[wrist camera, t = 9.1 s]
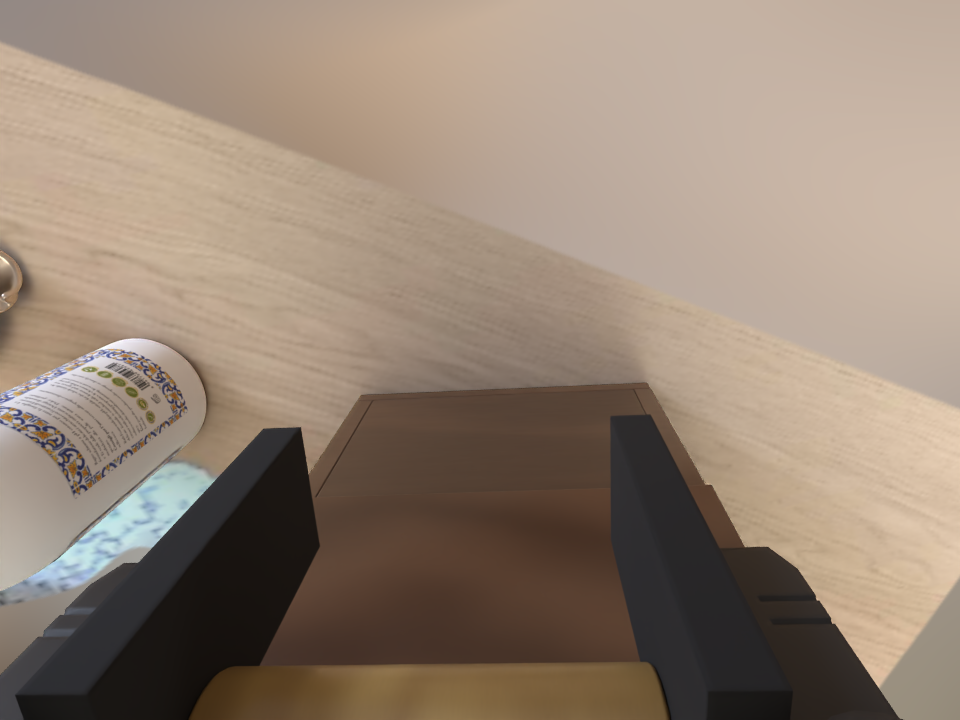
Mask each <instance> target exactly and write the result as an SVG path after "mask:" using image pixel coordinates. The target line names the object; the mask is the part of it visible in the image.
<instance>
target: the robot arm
mask: <svg viewBox="0 0 960 720" xmlns="http://www.w3.org/2000/svg"><path fill="white" fill-rule="evenodd" d="M610 473H611V543H612V547H613V551H614V555H615V559H616V564H617V568H618V572H619V576H620V580H621V584H622V588H623V592H624V597H625V601H626V605H627V609H628V613H629V617H630V621H631V625H632V630H633V634H634V638H635V642H636V646H637V650H638V654H639V658H640V662H648V663H650V664H652V665H653V666H654V667H655V669H656V671H657V673H658V676H659V678H660V681H661V683H662V686H663V689H664V693H665V696H666V700H667V704H668V708H669V713H670V717H671V720H903V719H900V718H899V717H898V716H897V715H896V713H895V712H894V710H893V709H892V707H891V706H890V704H889V703H888V701H887V700H886V699H885V697H884V695H883V694H882V692H881V691H880V689H879V688H878V687H877V685H876V684H875V682H874V681H873V679H872V678H871V676H870V675H869V673H868V672H867V670H866V669H865V667H864V666H863V664H862V663H861V661H860V660H859V659H858V657H857V656H856V654H855V653H854V651H853V650H852V648H851V647H850V645H849V644H848V642H847V641H846V639H845V638H844V636H843V635H842V634H841V632H840V631H839V629H838V628H837V626H836V625H835V624H832V622H831V617H830V616H829V614H828V613H827V611H826V610H825V608H824V607H823V606H822V604H821V603H820V601H817V600H816V595H815V594H814V592H813V591H812V589H811V588H810V586H809V585H808V583H807V582H806V580H805V579H804V578H803V576H802V575H801V573H800V572H799V570H798V569H797V568H796V567H794V566H793V565H792V564H790V563H789V562H788V561H786V560H785V559H784V558H782V557H781V556H779V555H778V554H777V553H775V552H774V551H773V550H771V549H770V548H769V547H740V548H719V546H718V544H717V542H716V540H715V538H714V536H713V534H712V532H711V530H710V529H709V527H708V525H707V523H706V521H705V519H704V517H703V515H702V513H701V511H700V509H699V507H698V505H697V503H696V501H695V499H694V497H693V496H692V494H691V492H690V490H689V488H688V486H687V484H686V482H685V480H684V478H683V476H682V474H681V472H680V470H679V468H678V466H677V465H676V463H675V461H674V459H673V457H672V455H671V453H670V451H669V449H668V447H667V445H666V443H665V441H664V439H663V437H662V435H661V433H660V432H659V430H658V428H657V426H656V424H655V422H654V420H653V418H652V416H651V414H646V415H619V416H610ZM319 547H320V542H319V536H318V530H317V524H316V518H315V512H314V505H313V499H312V493H311V487H310V481H309V475H308V468H307V462H306V456H305V450H304V444H303V438H302V432H301V427H296V428H270V429H263V430H262V431H261V432H260V433H259V434H258V435H257V436H256V437H255V439H254V440H253V441H252V442H251V443H250V444H249V445H248V446H247V447H246V448H245V449H244V450H243V451H242V452H241V454H240V455H239V456H238V457H237V458H236V459H235V460H234V461H233V462H232V463H231V464H230V465H229V466H228V467H227V469H226V470H225V471H224V472H223V473H222V474H221V475H220V476H219V477H218V478H217V479H216V480H215V481H214V482H213V483H212V485H211V486H210V487H209V488H208V489H207V490H206V491H205V492H204V493H203V494H202V495H201V496H200V497H199V498H198V500H197V501H196V502H195V503H194V504H193V505H192V506H191V507H190V508H189V509H188V510H187V511H186V512H185V513H184V515H183V516H182V517H181V518H180V519H179V520H178V521H177V522H176V523H175V524H174V525H173V526H172V527H171V528H170V530H169V531H168V532H167V533H166V534H165V535H164V536H163V537H162V538H161V539H160V540H159V541H158V542H157V543H156V545H155V546H154V547H153V548H152V549H151V550H150V551H149V552H148V553H147V554H146V555H145V556H144V557H143V559H142V560H141V561H140V562H139V563H124V564H122V565H121V566H119V567H117V568H116V569H114V570H113V571H111V572H109V573H108V574H107V575H105V576H104V577H102V578H100V579H99V580H97V581H96V582H94V583H92V584H91V585H90V586H88V587H87V588H86V589H85V591H84V592H83V593H82V594H81V595H79V597H78V598H76V599H75V600H74V602H72V604H70V606H69V607H67V608H66V610H65V614H64V615H60V616H59V617H58V618H56V619H55V620H54V621H53V622H52V623H51V624H50V626H49V627H47V628H46V629H45V630H44V634H43V637H38V638H37V639H36V640H35V641H34V642H33V643H32V644H31V645H30V646H29V647H28V648H27V649H26V650H25V651H24V652H23V653H22V654H21V655H20V656H19V657H18V658H17V659H16V660H15V661H14V662H13V663H12V664H11V665H10V666H9V667H8V668H7V669H6V670H5V671H4V672H3V673H2V674H1V675H0V720H188V719H189V717H190V714H191V712H192V710H193V708H194V706H195V704H196V702H197V700H198V698H199V696H200V695H201V693H202V691H203V690H204V688H205V687H206V686H207V684H208V683H209V682H210V681H211V680H212V679H213V677H214V676H216V675H217V674H218V673H219V672H221V671H223V670H225V669H227V668H229V667H233V666H260V664H261V662H262V660H263V658H264V656H265V654H266V652H267V650H268V648H269V646H270V644H271V642H272V640H273V638H274V636H275V634H276V632H277V630H278V628H279V626H280V624H281V622H282V620H283V618H284V616H285V614H286V612H287V610H288V609H289V607H290V605H291V603H292V601H293V599H294V597H295V595H296V593H297V591H298V589H299V587H300V585H301V583H302V581H303V579H304V577H305V575H306V573H307V571H308V569H309V567H310V565H311V563H312V561H313V559H314V557H315V555H316V553H317V551H318V549H319Z"/></svg>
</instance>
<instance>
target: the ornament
mask: <svg viewBox="0 0 960 720" xmlns="http://www.w3.org/2000/svg"><path fill="white" fill-rule="evenodd" d="M22 282H23V277H22V273H21V270H20V268H19V266H18V264H17V263H16V262H15V261H14V260H13V259H12V258H11V257H10V256H9V255H8V254H6V253H5V252H3V251H1V250H0V313H1V312H4V311H6V310H8V309H9V308H11V307H12V306H13V305H14V303H15V302H16V301H17V298H18V291H19V290H20V288H21V286H22Z"/></svg>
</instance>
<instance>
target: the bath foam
mask: <svg viewBox="0 0 960 720" xmlns="http://www.w3.org/2000/svg"><path fill="white" fill-rule="evenodd" d="M205 414H206V396H205V391H204V388H203V385H202V382H201V380H200V378H199V376H198V374H197V373H196V371H195V370H194V368H193V367H192V366H191V365H190V363H189V362H188V361H187V360H186V359H185V358H184V357H182V356H181V355H180V354H179V353H177V352H176V351H174V350H173V349H171V348H169V347H168V346H166V345H163V344H161V343H158V342H155V341H151V340H147V339H124V340H120V341H116V342H113V343H111V344H109V345H106V346H104V347H102V348H100V349H98V350H95V351H93V352H91V353H88V354H86V355H84V356H82V357H79V358H77V359H75V360H73V361H71V362H69V363H66V364H64V365H62V366H60V367H58V368H56V369H53V370H51V371H49V372H47V373H45V374H43V375H41V376H38V377H36V378H34V379H32V380H30V381H28V382H25V383H23V384H21V385H19V386H17V387H15V388H12V389H10V390H8V391H6V392H4V393H2V394H0V591H2V590H4V589H7V588H9V587H11V586H13V585H15V584H18V583H20V582H22V581H23V580H25V579H27V578H29V577H31V576H32V575H34V574H36V573H37V572H39V571H40V570H42V569H43V568H45V567H46V566H48V565H49V564H51V563H52V562H54V561H55V560H57V559H58V558H59V557H60V556H61V555H62V554H64V553H65V552H66V551H67V550H68V549H69V548H70V547H72V546H73V545H74V544H75V543H76V542H77V541H78V540H79V539H81V538H82V537H83V536H84V535H85V534H86V533H87V532H89V531H90V530H91V529H92V528H93V527H94V526H95V525H97V524H98V523H99V522H100V521H101V520H102V519H103V518H105V517H106V516H107V515H108V514H109V513H110V512H111V511H113V510H114V509H115V508H116V507H117V506H118V505H119V504H121V503H122V502H123V501H124V500H125V499H126V498H127V497H128V496H130V495H131V494H132V493H133V492H134V491H135V490H136V489H138V488H139V487H140V486H141V485H142V484H143V483H144V482H146V481H147V480H148V479H149V478H150V477H151V476H152V475H154V474H155V473H156V472H157V471H158V470H159V469H160V468H162V467H163V466H164V465H165V464H166V463H167V462H168V461H169V460H171V459H172V458H173V457H174V456H175V455H176V454H177V453H178V452H179V451H180V450H182V449H183V448H184V447H185V446H186V445H187V444H188V443H189V442H190V441H191V440H192V439H193V438H194V437H195V436H196V435H197V433H198V432H199V430H200V429H201V427H202V424H203V422H204V419H205Z"/></svg>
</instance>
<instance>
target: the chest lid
mask: <svg viewBox="0 0 960 720" xmlns="http://www.w3.org/2000/svg"><path fill="white" fill-rule="evenodd" d="M688 488H689V490H690V492H691V494H692V496H693V497H694V499H695V501H696V503H697V505H698V507H699V509H700V511H701V513H702V515H703V517H704V519H705V521H706V523H707V525H708V527H709V529H710V530H711V532H712V534H713V536H714V538H715V540H716V542H717V544H718V546H719V548H740V547H745V546H744V545H743V543H742V541H741V539H740V537H739V535H738V533H737V532H736V530H735V528H734V526H733V524H732V522H731V520H730V519H729V517H728V515H727V513H726V511H725V509H724V507H723V506H722V504H721V502H720V500H719V498H718V496H717V494H716V493H715V491H714V489H713V487H712V485H692V486H688ZM312 499H313V505H314V512H315V518H316V524H317V530H318V536H319V542H320V547H319V549H318V551H317V553H316V555H315V557H314V559H313V561H312V563H311V565H310V567H309V569H308V571H307V573H306V575H305V577H304V579H303V581H302V583H301V585H300V587H299V589H298V591H297V593H296V595H295V597H294V599H293V601H292V603H291V605H290V607H289V609H288V610H287V612H286V614H285V616H284V618H283V620H282V622H281V624H280V626H279V628H278V630H277V632H276V634H275V636H274V638H273V640H272V642H271V644H270V646H269V648H268V650H267V652H266V654H265V656H264V658H263V660H262V662H261V664H260V666H233V667H229V668H227V669H225V670H223V671H221V672H219V673H218V674H217V675H216V676H214V677H213V679H212V680H211V681H210V682H209V683H208V684H207V686H206V687H205V688H204V690H203V691H202V693H201V695H200V696H199V698H198V700H197V702H196V704H195V706H194V708H193V710H192V712H191V714H190V717H189V719H188V720H671V717H670V713H669V708H668V704H667V700H666V696H665V693H664V689H663V686H662V683H661V681H660V678H659V676H658V673H657V671H656V669H655V667H654V666H653V665H652V664H650V663H648V662H640V658H639V654H638V650H637V646H636V642H635V638H634V634H633V630H632V625H631V621H630V617H629V613H628V609H627V605H626V601H625V597H624V592H623V588H622V584H621V580H620V576H619V572H618V568H617V564H616V559H615V555H614V551H613V547H612V543H611V488H596V489H564V490H532V491H500V492H468V493H436V494H404V495H372V496H340V497H312Z"/></svg>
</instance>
